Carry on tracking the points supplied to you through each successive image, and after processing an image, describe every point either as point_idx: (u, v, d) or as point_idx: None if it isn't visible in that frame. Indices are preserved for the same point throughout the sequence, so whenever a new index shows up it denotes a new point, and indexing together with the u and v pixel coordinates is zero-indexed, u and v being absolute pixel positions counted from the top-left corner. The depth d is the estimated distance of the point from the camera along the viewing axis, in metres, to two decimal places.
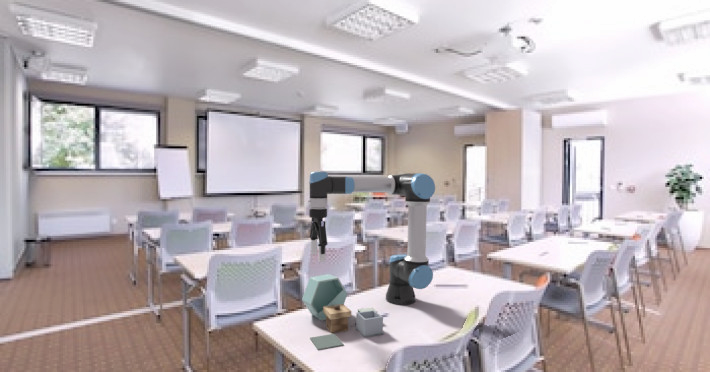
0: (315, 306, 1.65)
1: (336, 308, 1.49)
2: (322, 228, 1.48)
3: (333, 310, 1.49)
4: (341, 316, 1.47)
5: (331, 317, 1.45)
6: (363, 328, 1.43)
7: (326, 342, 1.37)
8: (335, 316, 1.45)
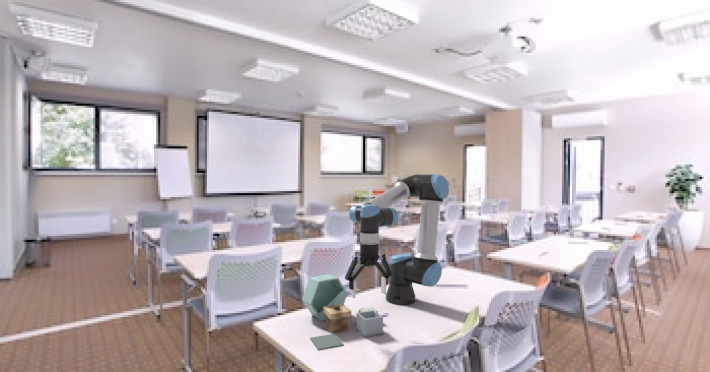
0: (315, 306, 1.65)
1: (336, 308, 1.49)
2: (352, 263, 1.44)
3: (333, 310, 1.49)
4: (341, 316, 1.47)
5: (331, 317, 1.45)
6: (363, 328, 1.43)
7: (326, 342, 1.37)
8: (335, 316, 1.45)
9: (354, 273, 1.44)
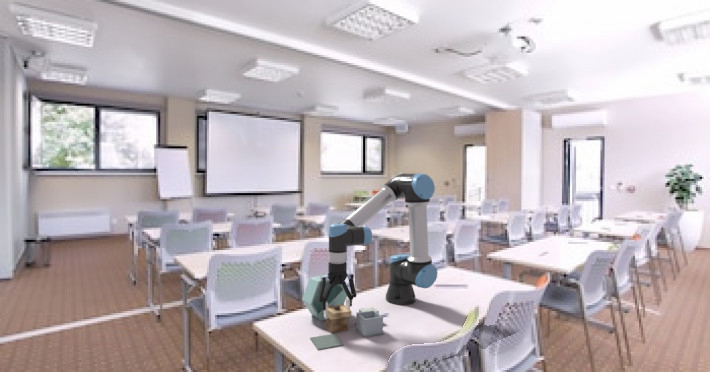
0: (315, 306, 1.65)
1: (336, 308, 1.49)
2: (321, 283, 1.48)
3: (333, 310, 1.49)
4: (341, 316, 1.47)
5: (331, 317, 1.45)
6: (363, 328, 1.43)
7: (326, 342, 1.37)
8: (335, 316, 1.45)
9: (325, 294, 1.48)
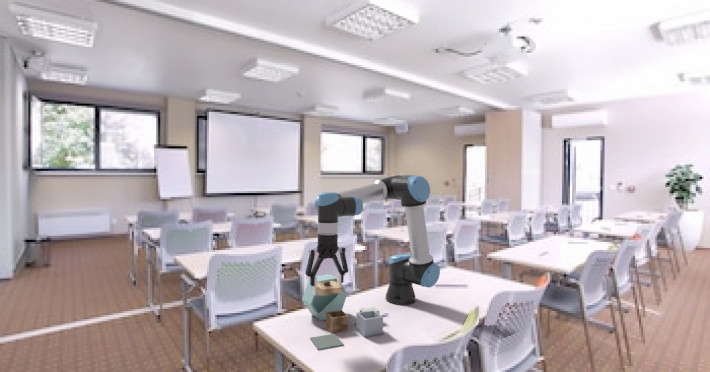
0: (315, 306, 1.65)
1: (326, 284, 1.37)
2: (310, 257, 1.35)
3: (323, 286, 1.36)
4: (331, 292, 1.34)
5: (320, 293, 1.32)
6: (363, 328, 1.43)
7: (326, 342, 1.37)
8: (324, 292, 1.33)
9: (314, 268, 1.35)
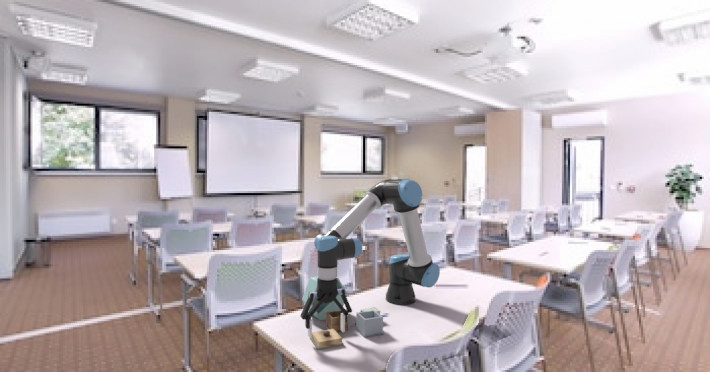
0: None
1: (325, 335, 1.37)
2: (308, 300, 1.35)
3: (322, 337, 1.36)
4: (331, 344, 1.34)
5: (320, 345, 1.33)
6: (363, 328, 1.43)
7: None
8: (324, 344, 1.33)
9: (310, 311, 1.35)
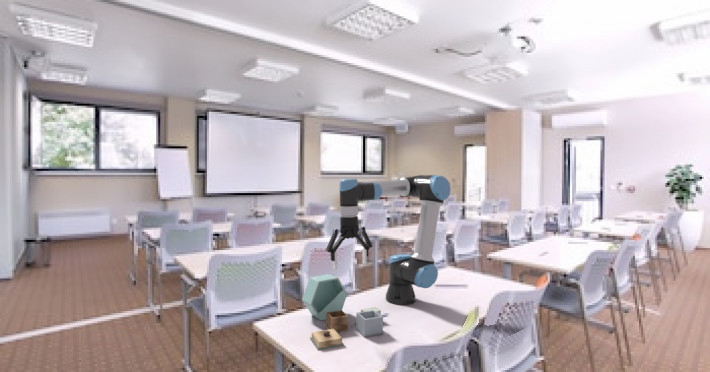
0: (315, 306, 1.65)
1: (325, 335, 1.37)
2: (333, 235, 1.50)
3: (322, 337, 1.36)
4: (331, 344, 1.34)
5: (320, 345, 1.33)
6: (363, 328, 1.43)
7: None
8: (324, 344, 1.33)
9: (335, 245, 1.50)
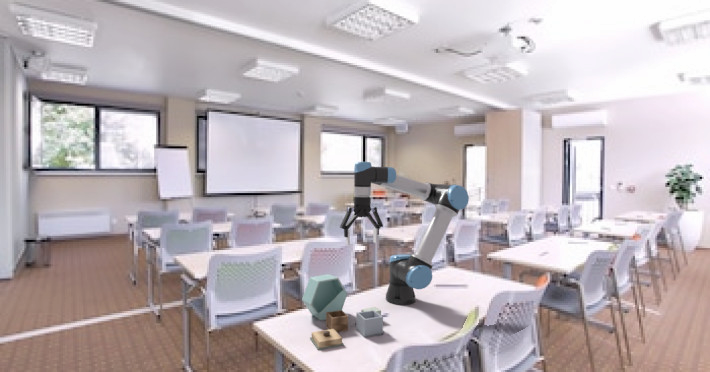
0: (315, 306, 1.65)
1: (325, 335, 1.37)
2: (347, 213, 1.61)
3: (322, 337, 1.36)
4: (331, 344, 1.34)
5: (320, 345, 1.33)
6: (363, 328, 1.43)
7: None
8: (324, 344, 1.33)
9: (348, 223, 1.61)
